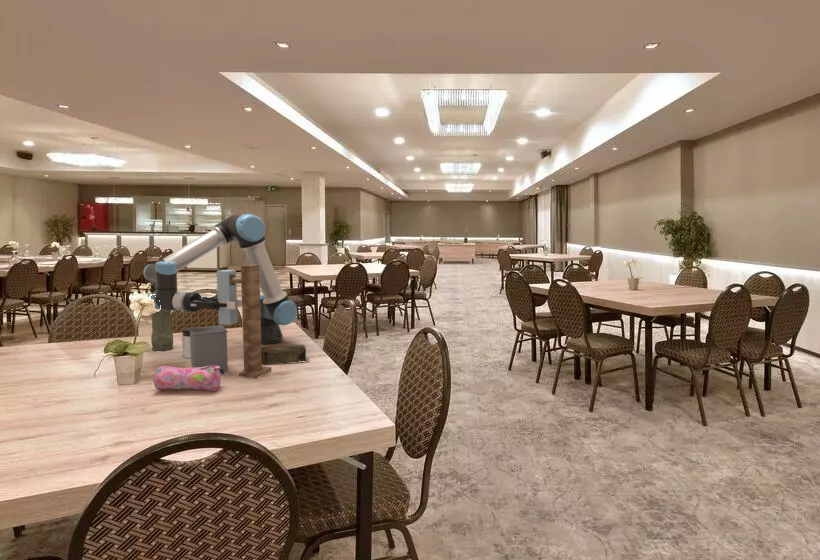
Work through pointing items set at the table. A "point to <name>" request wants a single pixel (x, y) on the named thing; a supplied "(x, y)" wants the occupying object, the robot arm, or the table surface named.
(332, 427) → the table surface
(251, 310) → the walnut stand
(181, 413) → the table surface
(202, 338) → the lidded box
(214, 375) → the pencil case
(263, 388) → the table surface
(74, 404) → the table surface
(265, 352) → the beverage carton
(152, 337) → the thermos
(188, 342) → the jar
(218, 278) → the grey tall block
